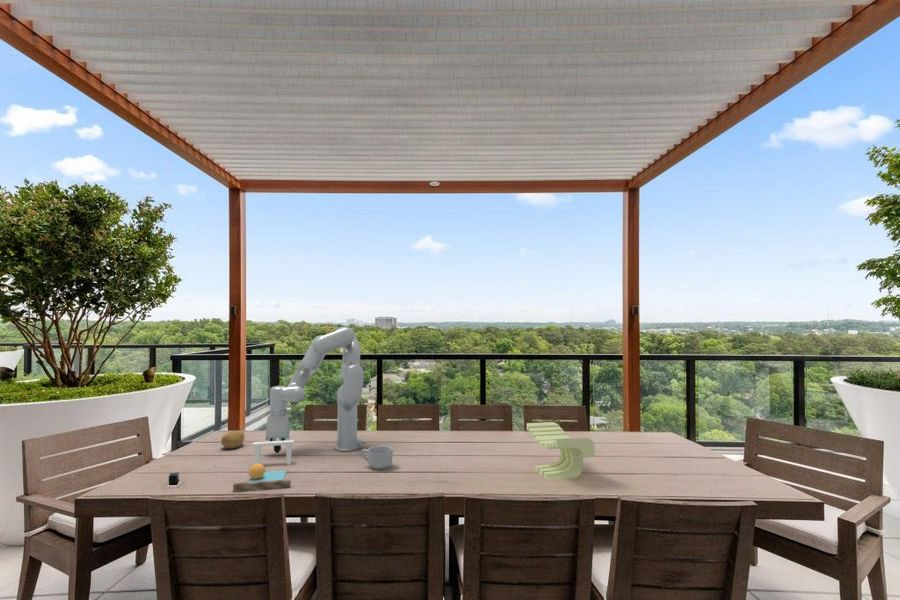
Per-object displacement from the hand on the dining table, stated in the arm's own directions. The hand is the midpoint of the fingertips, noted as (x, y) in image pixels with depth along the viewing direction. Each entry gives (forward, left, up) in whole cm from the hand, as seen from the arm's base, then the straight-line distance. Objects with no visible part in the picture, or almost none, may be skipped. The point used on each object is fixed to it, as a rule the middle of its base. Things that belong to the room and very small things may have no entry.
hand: (277, 452), depth 221 cm
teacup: (-44, +28, -2) cm, 52 cm away
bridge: (0, +14, -2) cm, 14 cm away
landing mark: (0, +31, -2) cm, 31 cm away
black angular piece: (+34, +32, -2) cm, 47 cm away
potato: (+23, -20, -2) cm, 31 cm away
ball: (+4, +33, +2) cm, 33 cm away
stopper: (0, +45, -2) cm, 45 cm away
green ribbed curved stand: (-117, +53, -2) cm, 128 cm away
